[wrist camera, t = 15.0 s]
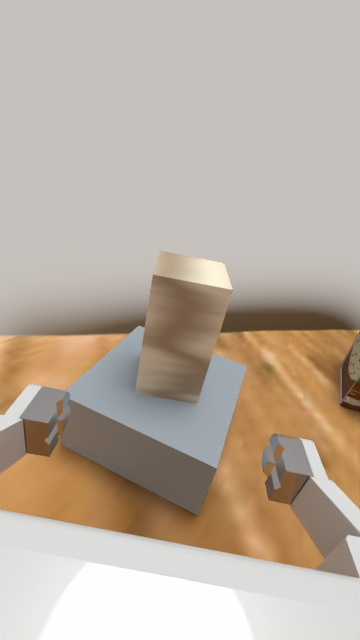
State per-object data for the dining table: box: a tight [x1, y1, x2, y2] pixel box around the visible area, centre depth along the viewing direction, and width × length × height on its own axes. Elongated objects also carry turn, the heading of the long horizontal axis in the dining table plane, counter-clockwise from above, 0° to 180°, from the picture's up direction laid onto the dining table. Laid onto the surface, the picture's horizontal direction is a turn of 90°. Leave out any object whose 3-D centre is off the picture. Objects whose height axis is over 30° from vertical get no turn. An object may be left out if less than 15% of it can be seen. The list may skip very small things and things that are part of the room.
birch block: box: [135, 251, 233, 404], centre depth 22 cm, size 5×5×10 cm
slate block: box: [61, 326, 247, 515], centre depth 26 cm, size 12×12×6 cm
